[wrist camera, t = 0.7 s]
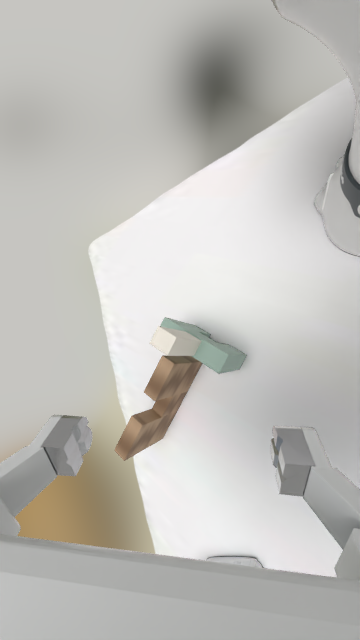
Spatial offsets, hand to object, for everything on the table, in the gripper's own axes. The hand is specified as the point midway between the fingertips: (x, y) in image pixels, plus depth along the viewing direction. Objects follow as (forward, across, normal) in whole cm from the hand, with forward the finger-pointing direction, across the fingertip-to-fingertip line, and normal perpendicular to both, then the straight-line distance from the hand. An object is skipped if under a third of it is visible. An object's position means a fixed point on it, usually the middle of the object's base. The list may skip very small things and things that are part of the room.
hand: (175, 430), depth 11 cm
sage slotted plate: (+33, -2, +17) cm, 38 cm away
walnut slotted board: (+30, +6, +27) cm, 41 cm away
